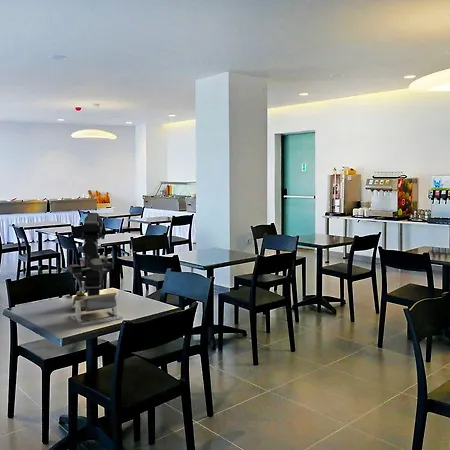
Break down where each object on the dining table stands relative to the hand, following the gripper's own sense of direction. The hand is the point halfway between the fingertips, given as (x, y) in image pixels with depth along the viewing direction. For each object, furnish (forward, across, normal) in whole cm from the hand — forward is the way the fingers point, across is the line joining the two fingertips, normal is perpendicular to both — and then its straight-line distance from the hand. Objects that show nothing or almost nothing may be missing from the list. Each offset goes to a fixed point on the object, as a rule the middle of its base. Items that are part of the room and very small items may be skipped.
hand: (91, 286), depth 221 cm
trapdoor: (+10, 0, -6) cm, 11 cm away
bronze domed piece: (+4, 0, +12) cm, 13 cm away
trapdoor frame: (+12, 0, -6) cm, 14 cm away
